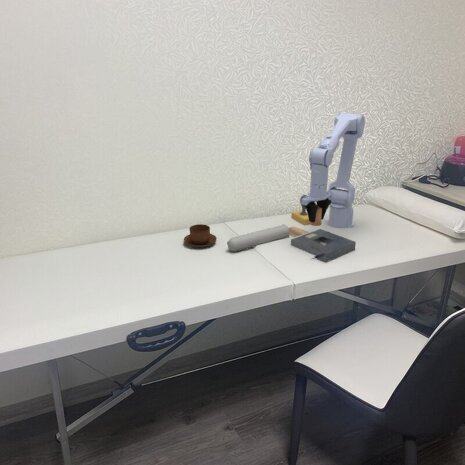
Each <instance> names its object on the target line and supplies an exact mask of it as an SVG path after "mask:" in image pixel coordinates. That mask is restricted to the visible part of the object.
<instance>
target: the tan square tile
mask: <svg viewBox="0 0 465 465" xmlns="http://www.w3.org/2000/svg"><path fill="white" fill-rule="evenodd" d="M288 228H289V230H290V235H289V236H290V237H292V238H297V237H300V236H302V235H305V234H308V233H309V231H307V230H304V229H302V228H300V227H296V226H293V225H292V226H290V227H288Z"/></svg>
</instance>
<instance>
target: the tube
mask: <svg viewBox="0 0 465 465" xmlns="http://www.w3.org/2000/svg"><path fill="white" fill-rule="evenodd" d="M289 228H290V227H288V225H287V224H284V223H282V224H281V225H277V226H273V227H270V228H266V229H261V230H257V231H253V232H249V233H244V234H241V235H237V236H233V237H230V238H229V240H228V241H227V242H226V244H227V248H228V250H229V251H230V252H233V251H234V253H235V251H237V252H240V251H243V249H244V250H247V248H248V249H251V248H254V247H257V246H258V245H262V244H265V243H269V242H272V241H277V240H281V239H284V238H289V236H290V230H289ZM239 250H240V251H239Z"/></svg>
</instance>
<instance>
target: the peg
mask: <svg viewBox="0 0 465 465" xmlns="http://www.w3.org/2000/svg"><path fill="white" fill-rule="evenodd" d="M321 219H322V207H318V209H317V213H316V219H315V222H314V223H313V222H310V224H309V225H310V226H313V227H317V226H322V220H321Z"/></svg>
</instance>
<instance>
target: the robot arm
mask: <svg viewBox="0 0 465 465" xmlns="http://www.w3.org/2000/svg"><path fill="white" fill-rule="evenodd" d="M333 124H334V126H333V129H332V130H331V133H328V134H326V135H325V136H324V138H323V139H322V140H321V142H320V143H319V144H318V146H317V147H314V148H312V149H311V150H310V152H309V157H308V163H309V170H310V171H311V172H310V184H309V185H310V186H309V187H310V188H309V192H308V193H307V196H306V197H305V198H303V199H302V200H301V203H300V205H301V204H303V205H304V206H305V208H306V210H305V211H306V212H307V213H308V218H309V221H310V222H313V223H314V222H315V219H316V213H317V209H318V207H322V219H321V221H323V220H324V218H325V216H326V213H327V210H328V208H329V214H328V226H330V227H331V228H337V229H342V228H352V227H354V224H353V220H354V218H353V217H354V207H353V205H354V202H355V198H356V197H355V193H356V188H355V186H354V185H353V184H352V182H350V181H351V180H350V178H351V174H352V168H353V164H354V158H355V154H356V153H355V152H356V148H357V144H358V140H359V139H360V138H362V137H363V134H364V130H365V124H366V119H365V116H364V114H363V113H360V114H359V113H347V112H337V114H336V115H335V117H334V122H333ZM341 139H343V143H342V148H341V149H342V150H341V154H340V160H339V164H338V169H337V175H336V180H334V181H332V182H331V183H330V184H329V185H328V180H329V169H330V168H329V167H330V166H331V164H332V162H333V159H334V156H335V152H336V151H337V149H338V147H339V146H340V143H341V142H340V140H341Z"/></svg>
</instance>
